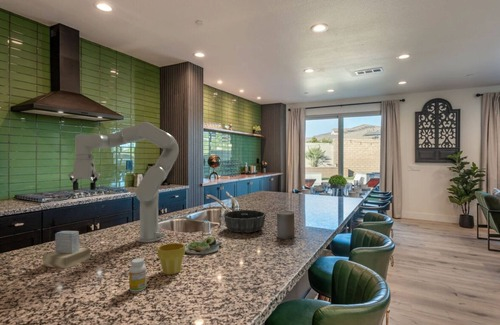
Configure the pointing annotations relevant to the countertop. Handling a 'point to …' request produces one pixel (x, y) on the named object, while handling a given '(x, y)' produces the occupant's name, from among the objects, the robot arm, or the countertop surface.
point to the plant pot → (171, 257)
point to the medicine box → (67, 241)
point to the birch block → (66, 258)
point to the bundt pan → (244, 220)
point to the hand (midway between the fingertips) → (84, 189)
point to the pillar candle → (285, 224)
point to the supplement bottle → (137, 275)
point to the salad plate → (203, 246)
